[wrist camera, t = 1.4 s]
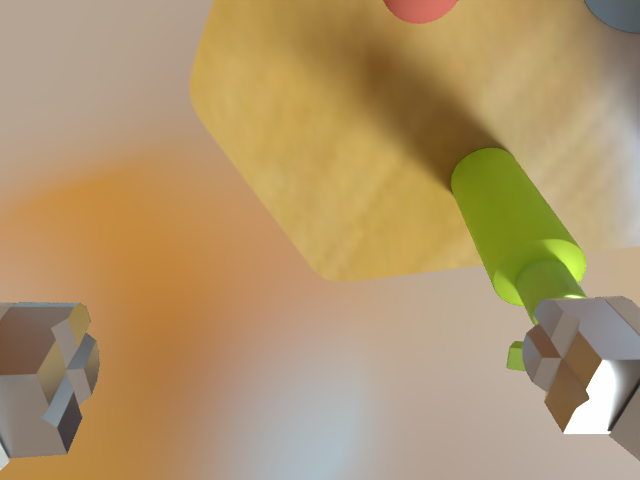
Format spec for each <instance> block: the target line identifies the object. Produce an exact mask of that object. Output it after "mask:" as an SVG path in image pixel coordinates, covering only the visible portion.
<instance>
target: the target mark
mask: <svg viewBox="0 0 640 480" xmlns="http://www.w3.org/2000/svg"><path fill="white" fill-rule="evenodd" d="M584 1H585V3H586V5H587V6H588V7H589V9H590V10H591V11H592V13H593V14H594V15H595V16H596V17H598V18H599V19H600V20H601V21H603V22H604V23H606V24H607V25H609V26H611V27H614V28H616V29H619V30H622V31H627V32H631V33H640V0H584Z"/></svg>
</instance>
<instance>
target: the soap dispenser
mask: <svg viewBox="0 0 640 480" xmlns="http://www.w3.org/2000/svg"><path fill="white" fill-rule="evenodd" d="M451 189H452V192H453V194H454V197H455V199H456V201H457V204H458V206H459V208H460V211H461V213H462V215H463V217H464V220H465V222H466V224H467V227H468V229H469V231H470V234H471V236H472V238H473V241H474V243H475V245H476V248H477V250H478V252H479V254H480V257H481V259H482V261H483V264H484V266H485V268H486V271H487V273H488V275H489V278H490V280H491V282H492V284H493V287H494V289H495V291H496V293H497V294H498V295H499V297H500V298H502V299H503V300H504V301H506V302H508V303H511V304H513V305H518V306H525V308H526V310H527V313H528V315H529V317H530V319H531V321H532V322H533V324H534V325H535V326H536V325H537V324H538V323H537V321H536V319H535V317H534V313H535V311H536V308H537V306H538V304H539V303H540V302H541V301H542V300H543V299H544V298H587V296H586V295H585V293H584V292H583V290H582V289H581V287H580V286H579V284H578V283H579V282H580V280H581V278H582V277H583V275H584V273H585V269H586V258H585V255H584V253H583V251H582V250H581V249H580V247H579V246H578V244H577V243H576V242H575V240H574V239H573V238H572V236H571V235H570V233H569V232H568V231H567V229H566V228H565V227H564V225H563V224H562V222H561V221H560V220H559V218H558V217H557V216H556V214H555V213H554V211H553V210H552V209H551V207H550V206H549V205H548V203H547V202H546V201H545V199H544V198H543V196H542V195H541V194H540V192H539V191H538V190H537V188H536V187H535V185H534V184H533V183H532V181H531V180H530V179H529V177H528V176H527V174H526V173H525V172H524V170H523V169H522V168H521V166H520V165H519V164H518V162H517V161H516V159H515V158H514V157H513V156H512V155H511V154H510V153H509V152H507V151H505V150H502V149H499V148H484V149H480V150H477V151H474V152H472V153H470V154H469V155H467V156H466V157H464V158H463V159H462V160H461V161H460V162H459V163H458V165H457V166H456V167H455V169H454V171H453V173H452V177H451ZM522 345H523V342H519V341H515V342H514V343H513V344H512V345H511V346H510V348H509V355H508V361H507V368H508V369H512V370H519V371H526V370H525V366H524V363H523V359H522Z"/></svg>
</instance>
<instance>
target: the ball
mask: <svg viewBox="0 0 640 480" xmlns="http://www.w3.org/2000/svg"><path fill="white" fill-rule="evenodd" d="M383 1H384V3H385V4H386V6H387V7H388V9H389V10H390V11H391V12H392V13H393V14H394V15H395V16H397V17H398V18H400V19H402V20H403V21H406V22H410V23H418V24H420V23H428V22H431V21H434V20H436V19H438V18H440V17H442V16H443V15H445V14H446V13H447V12H448V11H450V10H451V9H452V8H453V6H454V5H455V4H456V3H457V1H458V0H383Z"/></svg>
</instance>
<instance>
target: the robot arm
mask: <svg viewBox="0 0 640 480" xmlns="http://www.w3.org/2000/svg"><path fill="white" fill-rule="evenodd" d="M534 317H535V319H536V321H537V323H538V324H537V325H536V326H534V327H533V328H532V329H531V330H529V331H528V332H527V333H526V336H525V339H524V342H523V345H522V359H523V363H524V366H525V370H526V372H527V374H528V375H529V377H530V379H531V381H532V382H533V383H534V384H536V385H537V386H539V387H540V388H542V389H543V390H545V391H546V395H545V401H544V402H545V404H546V406H547V407H548V409H549V411H550V412H551V414H552V416H553V417H554V419H555V421H556V422H557V424H558V426H559V427H560V429H561V430H562V432H563V433H567V434H569V433H610V434H609V436H610V437H611V438H613V439H614V440H615V441H616V442H617V443H619V444H620V445H621V446H622V447H624V448H625V449H626V450H627V451H629V452H630V453H631V454H632V455H633V456H635V457H636V458H637V459H638V460H639V461H640V308H639V307H638V306H637V305H636V304H635V303H634V302H633V301H632V300H630V299H627V298H625V297H623V296H614V297H595V298H544V299H543V300H542V301H541V302H540V303H539V304H538V306H537V308H536V311H535V313H534ZM90 323H91V320H90V316H89V313H88V310H87V307H86V306H85V305H83V304H81V303H32V302H19V303H0V470H1V469H2V468H3V467H4V466H5V465H6V464H7V463H9V458H22V457H36V456H51V455H65V454H68V451H69V449H70V446H71V444H72V442H73V439H74V437H75V434H76V432H77V430H78V427H79V425H80V422H81V420H82V415H81V412H80V409H79V405H80V404H81V403H83V402H84V401H85V400H86V399H88V398H89V397H90V396H91V395H92V393H93V390H94V388H95V385H96V382H97V378H98V372H99V366H100V359H99V349H98V345H97V341H96V340H95V339H94V338H92V337H91V336H90V335H89V334H87V333H86V331H87V329H88V327H89V324H90Z"/></svg>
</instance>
